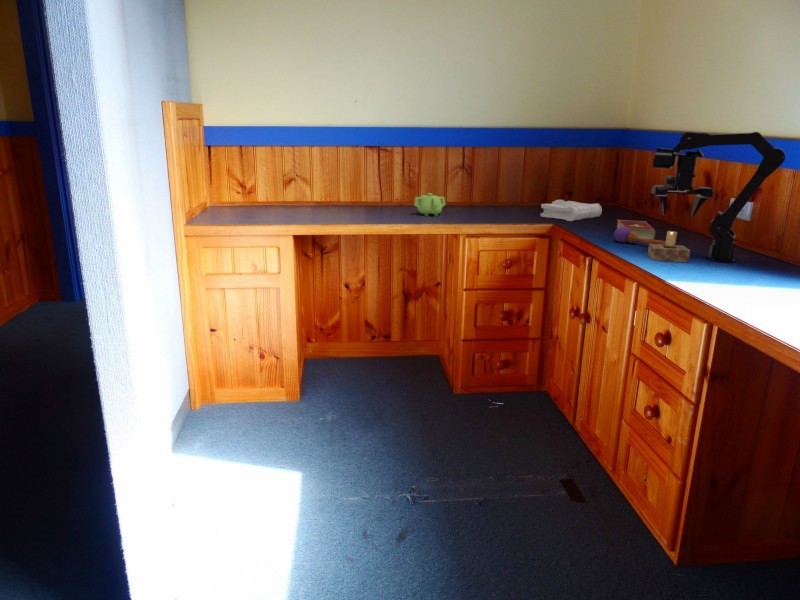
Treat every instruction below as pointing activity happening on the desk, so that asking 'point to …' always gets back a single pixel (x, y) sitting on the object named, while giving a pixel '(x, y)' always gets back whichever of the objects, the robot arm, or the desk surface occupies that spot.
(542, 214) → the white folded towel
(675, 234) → the brass pin
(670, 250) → the bore block
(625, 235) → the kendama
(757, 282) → the desk surface
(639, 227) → the hardcover book
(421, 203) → the teapot
